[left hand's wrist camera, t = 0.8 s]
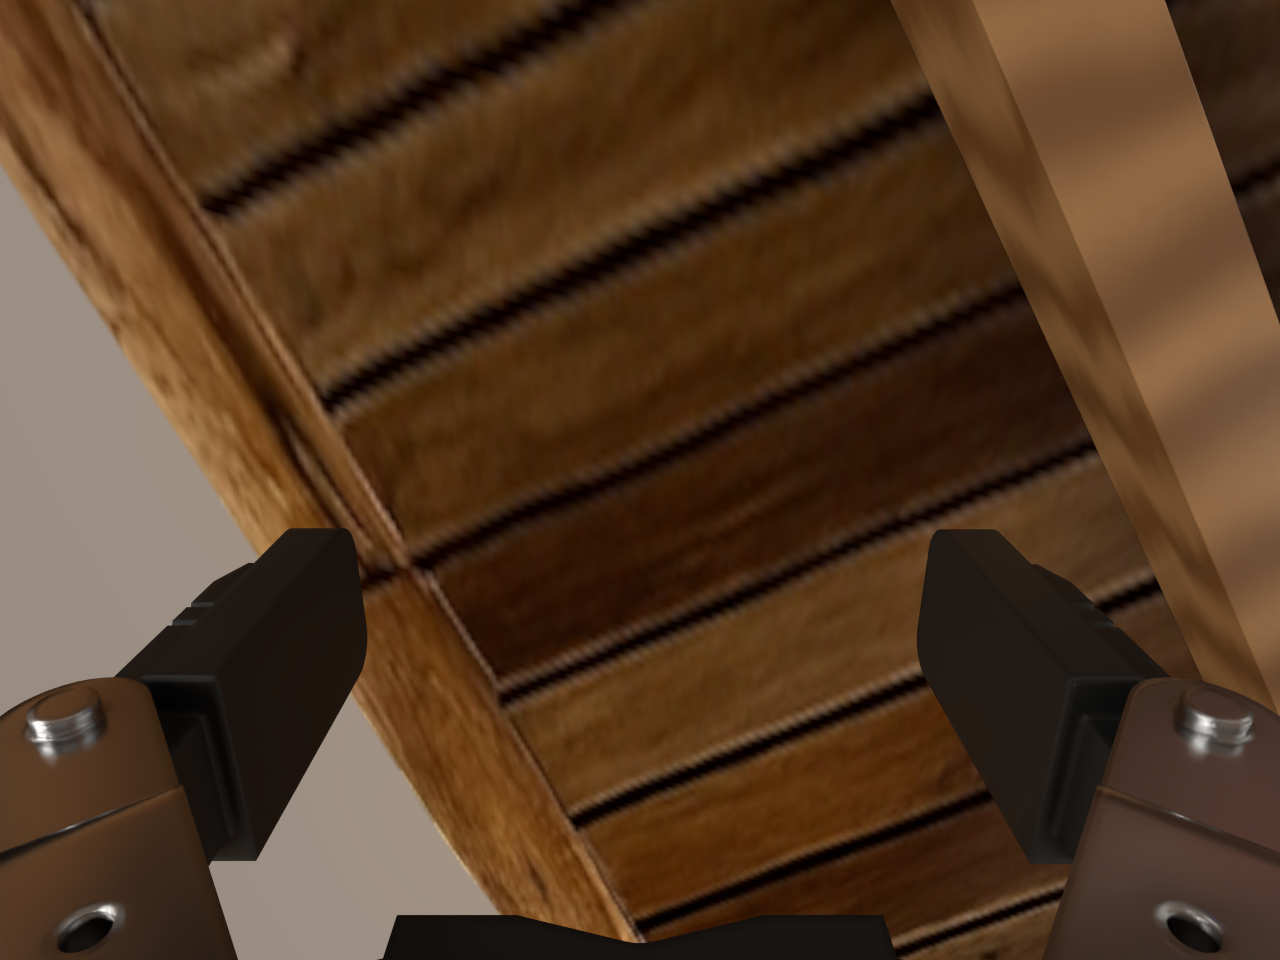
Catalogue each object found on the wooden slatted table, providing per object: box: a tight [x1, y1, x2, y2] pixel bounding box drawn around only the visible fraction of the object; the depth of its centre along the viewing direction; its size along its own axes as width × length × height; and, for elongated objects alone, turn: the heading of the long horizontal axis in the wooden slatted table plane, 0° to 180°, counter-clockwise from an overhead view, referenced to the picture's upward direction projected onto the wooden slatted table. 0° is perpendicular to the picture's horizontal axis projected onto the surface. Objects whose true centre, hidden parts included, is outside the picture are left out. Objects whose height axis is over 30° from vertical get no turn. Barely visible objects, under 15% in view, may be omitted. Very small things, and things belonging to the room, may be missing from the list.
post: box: [890, 0, 1280, 716], centre depth 33 cm, size 62×5×6 cm, turn 33°
